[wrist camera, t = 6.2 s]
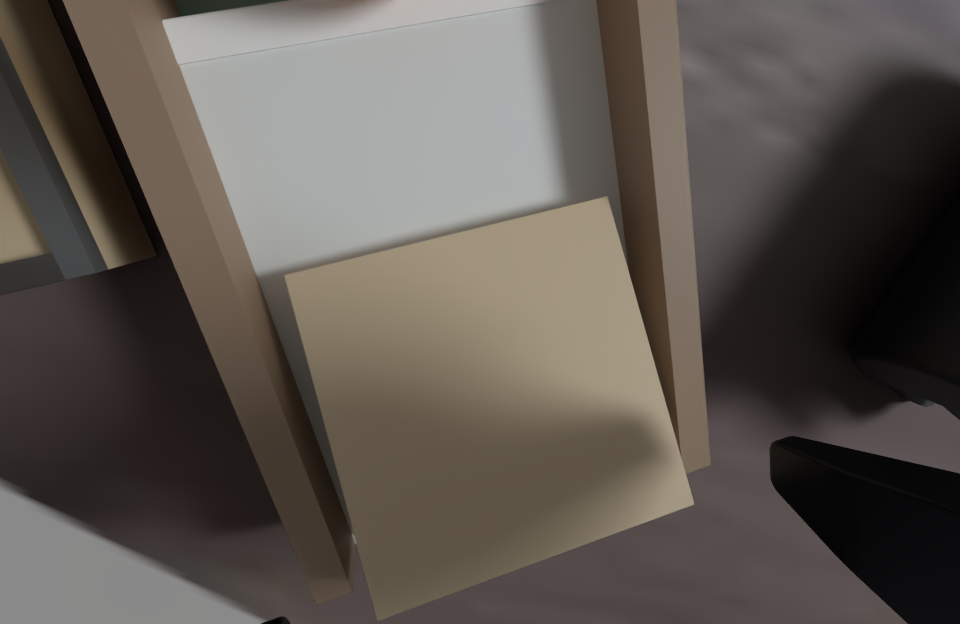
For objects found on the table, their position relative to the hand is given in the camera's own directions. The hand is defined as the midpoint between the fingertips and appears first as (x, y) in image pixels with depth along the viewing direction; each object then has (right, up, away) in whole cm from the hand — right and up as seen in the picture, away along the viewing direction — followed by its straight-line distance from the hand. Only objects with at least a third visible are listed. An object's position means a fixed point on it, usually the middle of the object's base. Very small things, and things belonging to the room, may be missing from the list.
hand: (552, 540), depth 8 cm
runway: (-3, +8, +3) cm, 9 cm away
